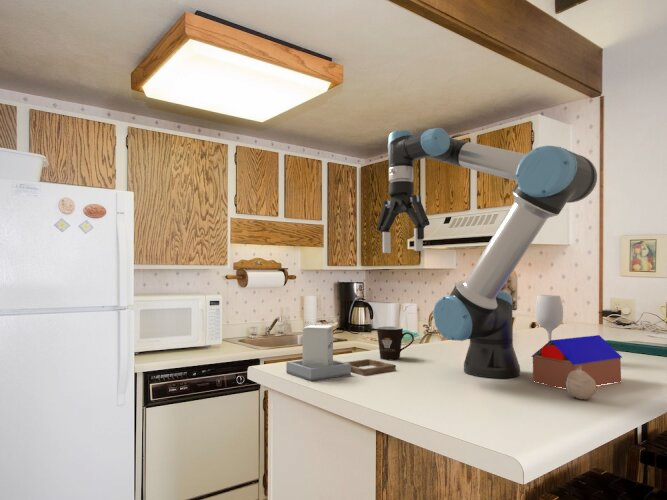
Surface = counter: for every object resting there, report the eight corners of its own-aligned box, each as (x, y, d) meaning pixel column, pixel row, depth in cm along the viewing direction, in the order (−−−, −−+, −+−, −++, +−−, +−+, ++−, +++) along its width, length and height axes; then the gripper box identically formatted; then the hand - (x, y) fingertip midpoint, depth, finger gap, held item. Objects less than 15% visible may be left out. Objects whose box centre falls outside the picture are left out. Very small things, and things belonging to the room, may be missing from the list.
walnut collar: (395, 370, 137) (395, 365, 137) (363, 375, 130) (363, 369, 130) (369, 363, 146) (369, 358, 146) (338, 368, 140) (338, 363, 140)
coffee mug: (371, 358, 156) (371, 327, 157) (388, 355, 162) (388, 325, 162) (398, 363, 148) (398, 330, 148) (415, 359, 153) (415, 328, 154)
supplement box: (327, 375, 127) (327, 328, 128) (301, 373, 129) (301, 327, 130) (333, 369, 135) (333, 325, 135) (308, 368, 136) (308, 324, 137)
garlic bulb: (559, 397, 107) (558, 361, 107) (576, 393, 110) (575, 359, 110) (587, 404, 101) (586, 366, 102) (604, 400, 104) (603, 363, 105)
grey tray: (350, 374, 130) (350, 364, 130) (310, 381, 123) (310, 369, 123) (324, 367, 141) (324, 357, 141) (286, 372, 133) (286, 361, 134)
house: (623, 383, 121) (621, 337, 122) (574, 393, 112) (572, 343, 112) (579, 374, 132) (578, 332, 132) (531, 382, 122) (530, 337, 123)
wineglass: (570, 363, 146) (568, 295, 147) (542, 363, 146) (540, 295, 147) (557, 358, 155) (556, 294, 156) (531, 358, 155) (529, 294, 156)
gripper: (365, 187, 151) (365, 253, 150) (422, 173, 131) (424, 249, 130) (382, 189, 156) (383, 253, 155) (441, 176, 136) (442, 250, 135)
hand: (402, 252), depth 142 cm, fingers open, 13 cm apart
